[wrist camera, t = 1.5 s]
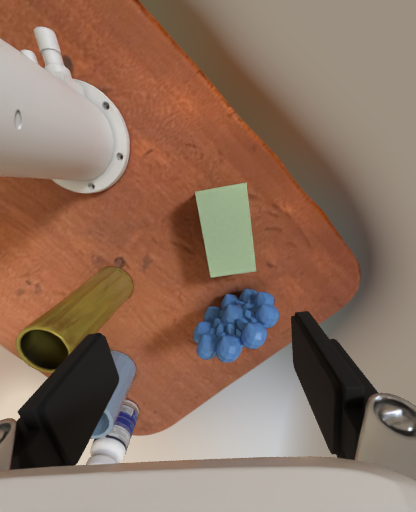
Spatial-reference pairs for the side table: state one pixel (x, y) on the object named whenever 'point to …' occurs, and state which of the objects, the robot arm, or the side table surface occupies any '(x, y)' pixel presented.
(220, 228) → the pale sage-green block
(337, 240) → the side table surface
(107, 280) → the vase
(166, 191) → the side table surface
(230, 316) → the grapes
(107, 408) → the cup
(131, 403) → the pill bottle
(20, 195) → the side table surface
